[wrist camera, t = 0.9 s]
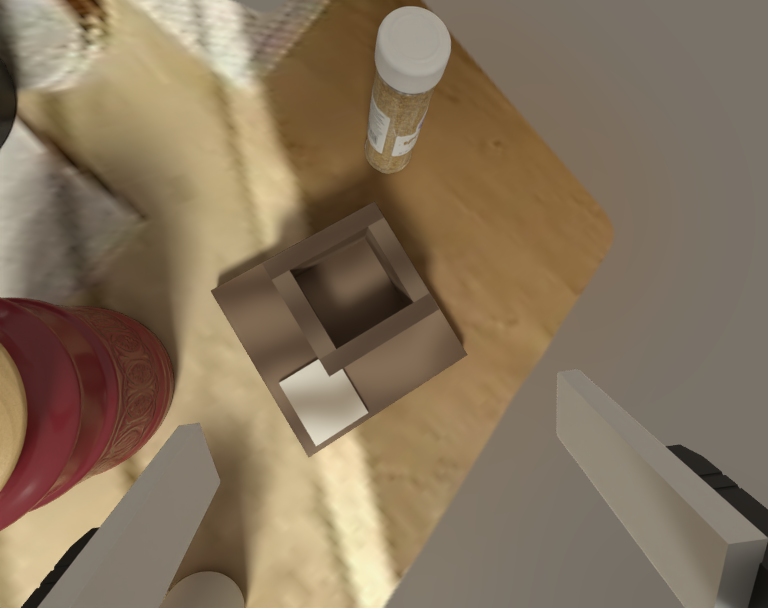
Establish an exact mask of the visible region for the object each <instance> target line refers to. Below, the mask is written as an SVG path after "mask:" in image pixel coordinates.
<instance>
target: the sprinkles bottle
mask: <svg viewBox="0 0 768 608" xmlns="http://www.w3.org/2000/svg"><path fill="white" fill-rule="evenodd" d="M450 52H451V39H450V35H449V32H448V30H447V28H446V26H445V24H444V23H443V22H442V21H441V19H440V18H439V17H437V16H436V15H435V14H434V13H432V12H430V11H429V10H427V9H424V8H420V7H415V6H406V7H402V8H398V9H396V10H394V11H392V12H391V13H390V14H388V15H387V16H386V17H385V18H384V20H383V21H382V23H381V25H380V27H379V30H378V35H377V41H376V48H375V64H376V71H375V79H374V84H373V87H372V96H371V104H370V113H369V121H368V131H367V132H368V138H367V140H366V143H365V156H366V158H367V160H368V162H369V164H370V165H371V166H372V167H373V168H375V169H376V170H378V171H380V172H382V173H387V174H390V173H395V172H399V171H400V170H402V169H403V168H405V167H406V165H407V164H408V162H409V161H410V158H411V154H412V149H413V146H414V144H415V142H416V140H417V137H418V135H419V132H420V128H421V126H422V123H423V120H424V117H425V115H426V112H427V109H428V105H429V102H430V99H431V96H432V94H433V90H434V88H435V85H436V84H437V83H438V82H439V80H440V79H441V77H442V75H443V73H444V70H445V67H446V65H447V62H448V59H449V56H450Z"/></svg>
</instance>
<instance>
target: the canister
mask: <svg viewBox="0 0 768 608" xmlns="http://www.w3.org/2000/svg"><path fill="white" fill-rule="evenodd" d="M173 390H174V375H173V368H172V364H171V361H170V358H169V356H168V353H167V351H166V349H165V348H164V346H163V344H162V343H161V342H160V340H159V339H158V338H157V337H156V336H155V334H154V333H152V332H151V331H150V330H149V329H148V328H147V327H145V326H144V325H142V324H141V323H139V322H137V321H136V320H134V319H132V318H130V317H128V316H126V315H124V314H121V313H118V312H116V311H112V310H108V309H103V308H97V307H89V306H72V307H69V306H60V305H53V304H50V303H47V302H43V301H39V300H34V299H27V298H1V297H0V531H1V530H3V529H5V528H6V527H8V526H10V525H11V524H13V523H14V522H16V521H17V520H18V519H20V518H21V517H22V516H24V515H25V514H26V513H28V512H30V511H33V510H35V509H38V508H40V507H42V506H44V505H46V504H48V503H50V502H52V501H54V500H55V499H57V498H59V497H60V496H62V495H63V494H65V493H66V492H67V491H69V490H70V489H71V488H73V487H74V486H75V485H77V484H79V483H81V482H83V481H84V480H86V479H88V478H90V477H92V476H94V475H97V474H100V473H102V472H105V471H107V470H109V469H111V468H113V467H115V466H117V465H118V464H120V463H122V462H123V461H125V460H127V459H128V458H130V457H131V456H132V455H134V454H135V453H136V452H137V451H139V450H140V449H141V448H142V447H143V446H144V445H145V444H146V443H147V442H148V440H149V439H150V438H151V437H152V436H153V435H154V434H155V432H156V431H157V430H158V428H159V427H160V426H161V424H162V422H163V421H164V419H165V417H166V415H167V413H168V410H169V408H170V405H171V401H172V397H173Z"/></svg>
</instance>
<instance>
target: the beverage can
mask: <svg viewBox="0 0 768 608" xmlns="http://www.w3.org/2000/svg"><path fill="white" fill-rule="evenodd" d="M159 608H245V605H244V599H243V596H242V593H241V591H240V589H239V587H238V586H237V585H236V583H235V582H234V581H233V580H231V579H230V578H229V577H227V576H225V575H223V574H221V573H218V572H210V571H205V572H198V573H194V574H192V575H189V576H187V577H186V578H184V579H182V580H181V581H180V582H178V583H177V584H176V585H175V586H174V587H173V588H172V589H171V590H170V592H169V593H168V594H167V596H166V597H165V599H164V600H163V602H162V603H161V605H160V606H159Z"/></svg>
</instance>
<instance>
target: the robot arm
mask: <svg viewBox="0 0 768 608" xmlns="http://www.w3.org/2000/svg"><path fill="white" fill-rule="evenodd" d="M14 111H15V94H14V88H13V84H12V80H11V77H10V75H9V73H8V70H7V69H6V67H5V65H4V63H3V62H2V60H1V59H0V146H1V145H2V144H3V142H4V140H5V139H6V137H7V135H8V133H9V130H10V127H11V125H12V121H13V117H14ZM556 435H557V436H558V438H559V439H560V440H561V442H562V443H563V444H564V446H565V447H566V448H567V450H568V451H569V453H570V454H571V455H572V457H573V458H574V459H575V461H576V462H577V463H578V465H579V466H580V467H581V469H582V470H583V471H584V472H585V474H586V475H587V477H588V478H589V479H590V481H591V482H592V483H593V484H594V486H595V488H596V489H597V490H598V492H599V493H600V494H601V496H602V497H603V498H604V500H605V501H606V502H607V504H608V505H609V506H610V508H611V509H612V510H613V512H614V513H615V514H616V516H617V517H618V518H619V520H620V521H621V522H622V524H623V525H624V526H625V528H626V529H627V531H628V532H629V533H630V535H631V536H632V537H633V538H634V540H635V541H636V543H637V544H638V545H639V547H640V548H641V549H642V551H643V552H644V553H645V555H646V556H647V557H648V559H649V560H650V561H651V563H652V564H653V566H654V567H655V568H656V569H657V571H658V572H659V574H660V575H661V576H662V577H663V579H664V580H665V582H666V583H667V584H668V586H669V587H670V588H671V590H672V591H673V592H674V594H675V595H676V596H677V598H678V599H679V600H680V602H681V603H682V605H683V606H684V607H685V608H768V509H766V508H765V507H764V506H763V505H762V504H760V503H759V502H758V501H757V500H755V499H754V498H753V497H752V496H751V495H749V494H748V493H747V492H745V491H744V490H743V489H742V488H741V489H740V488H739V487H738V485H737V484H736V483H735V482H733V481H732V480H731V479H730V478H729V477H727V476H726V475H723V474H722V472H721V471H720V470H719V469H718V468H716V467H715V466H714V465H713V464H711V463H710V462H709V461H708V460H707V459H705V458H704V457H703V456H701V455H699V454H697V453H695V452H693V451H691V450H689V449H687V448H686V447H683V446H682V445H673V446H666V447H665V446H664V445H663V444H662V443H661V442H660V441H659V440H657V439H656V438H655V437H654V436H653V435H652V434H650V433H649V432H648V431H647V430H646V429H645V428H644V427H643V426H642V425H640V424H639V423H638V422H637V421H636V420H635V419H634V418H632V416H630V415H629V414H628V413H627V412H626V411H625V410H624V409H623V408H621V407H620V406H619V405H618V404H617V403H616V402H615V401H613V399H611V398H610V397H609V396H608V395H607V394H606V393H605V392H604V391H602V390H601V389H600V388H599V387H598V386H597V385H596V384H594V383H593V382H592V381H591V380H590V379H589V378H588V377H587V376H586V375H584V374H583V373H582V372H581V371H580V370H579V369H576V370H569V371H561V372H557V422H556ZM220 483H221V482H220V479H219V476H218V473H217V470H216V468H215V465H214V462H213V459H212V456H211V453H210V451H209V448H208V445H207V442H206V439H205V437H204V434H203V431H202V428H201V425H200V423H195V424H188V425H181V426H178V428H177V429H176V430H175V431H174V433H173V434H172V435H171V437H170V438H169V439H168V440H167V442H166V443H165V444H164V446H163V447H162V448H161V449H160V451H159V452H158V453H157V455H156V456H155V457H154V458H153V460H152V461H151V462H150V464H149V465H148V466H147V467H146V469H145V470H144V471H143V473H142V474H141V475H140V476H139V478H138V479H137V480H136V482H135V483H134V484H133V485H132V487H131V488H130V489H129V491H128V492H127V493H126V494H125V496H124V497H123V498H122V500H121V501H120V502H119V503H118V505H117V506H116V507H115V509H114V510H113V511H112V512H111V514H110V515H109V516H108V518H107V519H106V520H105V521H104V523H103V524H102V525H101V527H99V528H92V529H91V530H90V531H88V532H87V533H86V534H85V535H84V536H83V537H81V538H80V539H79V540H78V541H77V542H76V543H74V544H73V545H72V546H71V547H70V548H69V549H68V551H67V552H66V553H65V554H64V555H63V557H62V558H61V559H60V560H59V562H58V563H57V564H56V565H55V566H54V570H53V571H50V573H49V574H48V575H47V576H46V577H45V579H44V580H43V581H42V582H41V584H40V587H39V588H36V590H35V591H34V592H33V593H32V595H31V596H30V597H29V598H28V600H27V601H26V602H25V603H24V604H23V606H22V607H21V608H159V606H160V604H161V602H162V600H163V598H164V596H165V594H166V592H167V590H168V588H169V586H170V584H171V582H172V580H173V578H174V576H175V574H176V572H177V570H178V568H179V566H180V564H181V562H182V560H183V558H184V556H185V554H186V552H187V550H188V548H189V546H190V543H191V541H192V539H193V537H194V535H195V533H196V531H197V529H198V527H199V525H200V523H201V521H202V519H203V517H204V515H205V513H206V511H207V509H208V507H209V505H210V503H211V501H212V499H213V497H214V495H215V493H216V491H217V489H218V487H219V485H220Z"/></svg>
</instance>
